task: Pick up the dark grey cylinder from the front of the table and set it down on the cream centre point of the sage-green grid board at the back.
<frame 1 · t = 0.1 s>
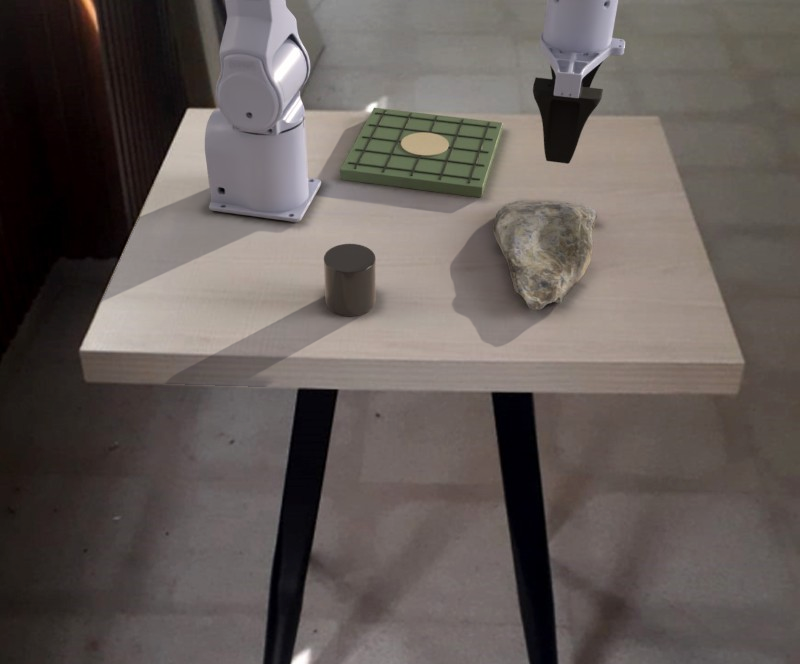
hand: (562, 140, 86), 10 cm above the table, tool pointing down, fingers open, 7 cm apart
dark grey cylinder: (350, 301, 84), on the table
board: (424, 154, 104), on the table
stone: (544, 260, 90), on the table
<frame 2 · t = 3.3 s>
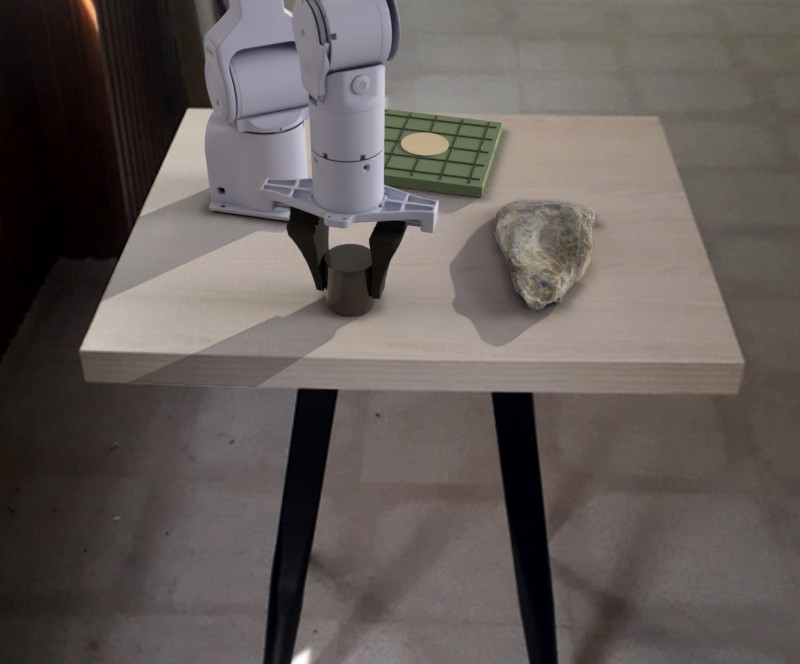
hand: (350, 288, 83), 1 cm above the table, tool pointing down, fingers closed on dark grey cylinder, 4 cm apart
dark grey cylinder: (350, 301, 84), on the table, touching gripper
everything else where it was.
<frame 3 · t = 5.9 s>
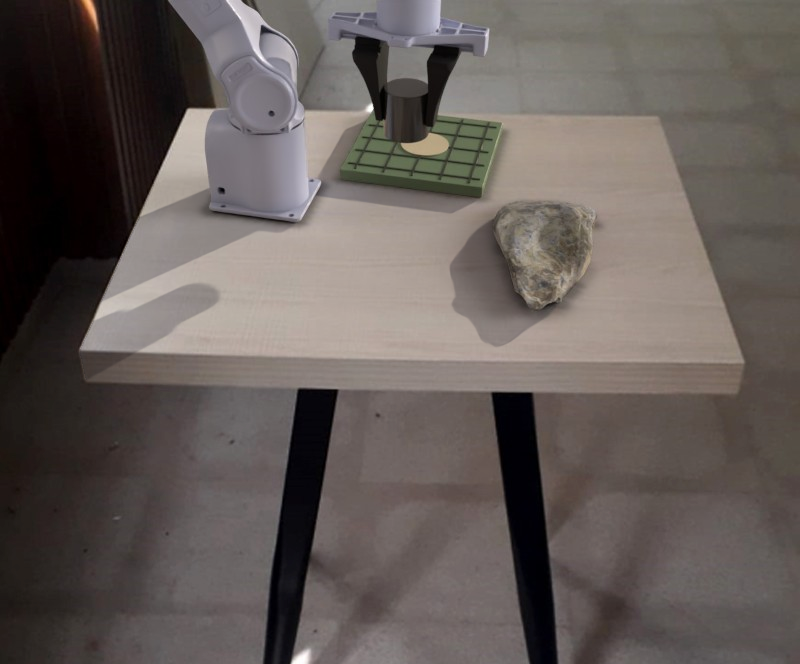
hand: (406, 119, 92), 8 cm above the table, tool pointing down, fingers closed on dark grey cylinder, 4 cm apart
dark grey cylinder: (406, 132, 93), point 7 cm above the table, touching gripper
everything else where it was.
when the fingers open (3 cm above the table, at t = 8.5 s): dark grey cylinder stays where it is, resting on board.
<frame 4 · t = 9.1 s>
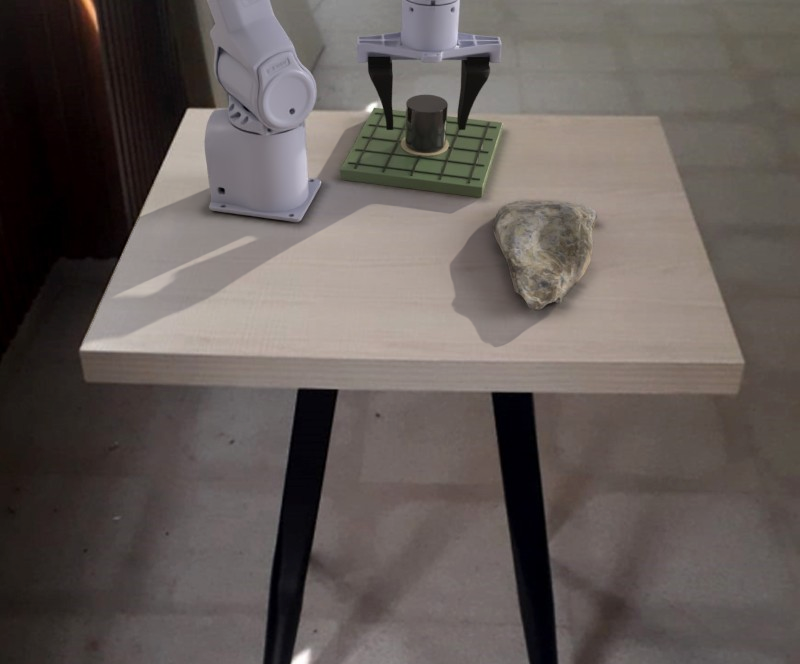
hand: (425, 125, 102), 3 cm above the table, tool pointing down, fingers open, 7 cm apart
dark grey cylinder: (425, 143, 103), point 1 cm above the table, touching board
everything else where it was.
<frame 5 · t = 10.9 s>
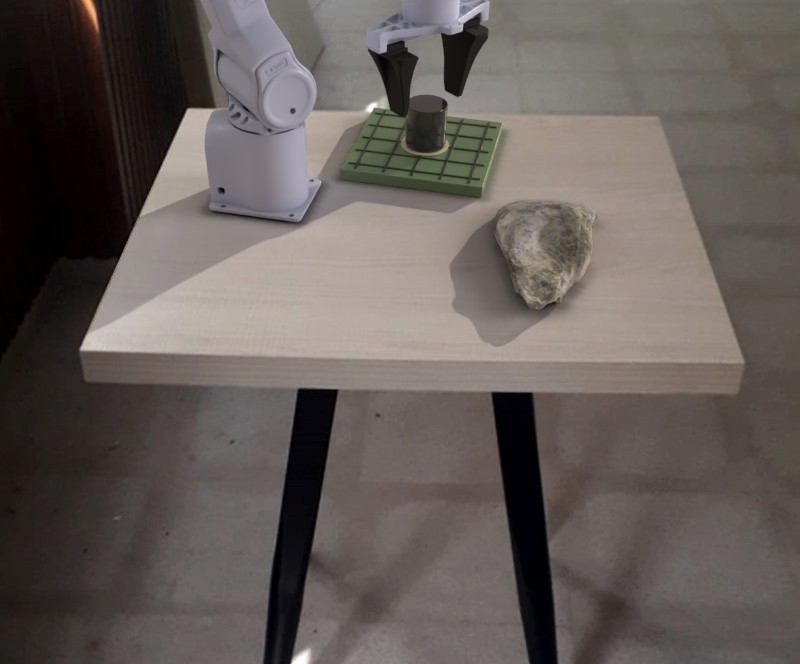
hand: (426, 102, 100), 6 cm above the table, tool pointing down, fingers open, 7 cm apart
nothing on the table moved.
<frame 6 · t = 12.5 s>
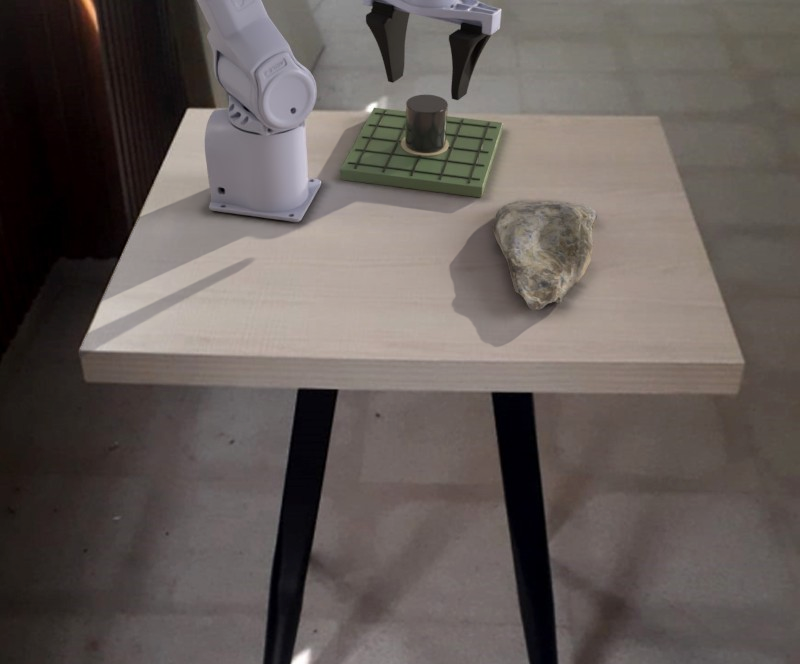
hand: (426, 87, 99), 8 cm above the table, tool pointing down, fingers open, 7 cm apart
nothing on the table moved.
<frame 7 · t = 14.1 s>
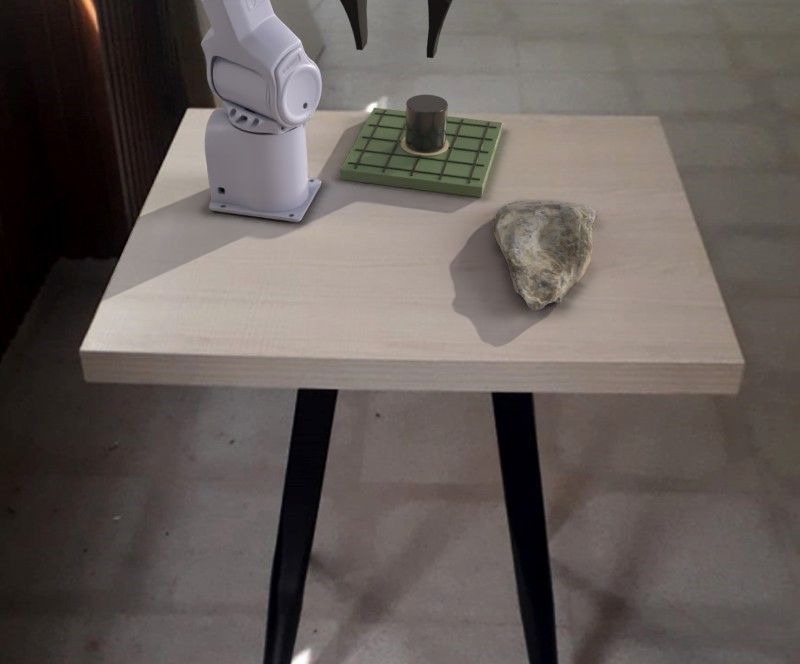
hand: (396, 50, 102), 9 cm above the table, tool pointing down, fingers open, 7 cm apart
nothing on the table moved.
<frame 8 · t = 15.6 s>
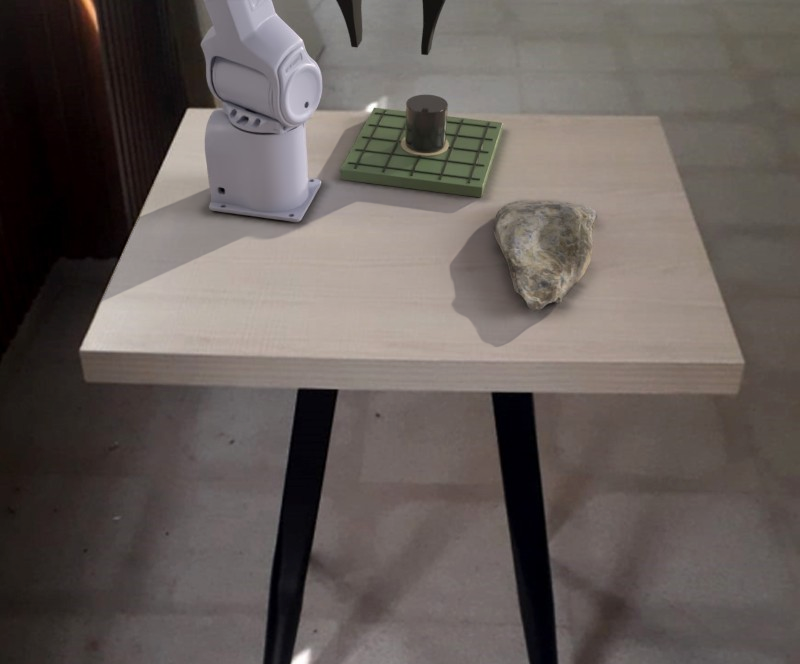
hand: (391, 47, 102), 9 cm above the table, tool pointing down, fingers open, 7 cm apart
nothing on the table moved.
at the end: dark grey cylinder 0.1 cm off-centre on the board, point 1.3 cm above the board's base; dark grey cylinder tilted 0°; the gripper is holding nothing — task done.
